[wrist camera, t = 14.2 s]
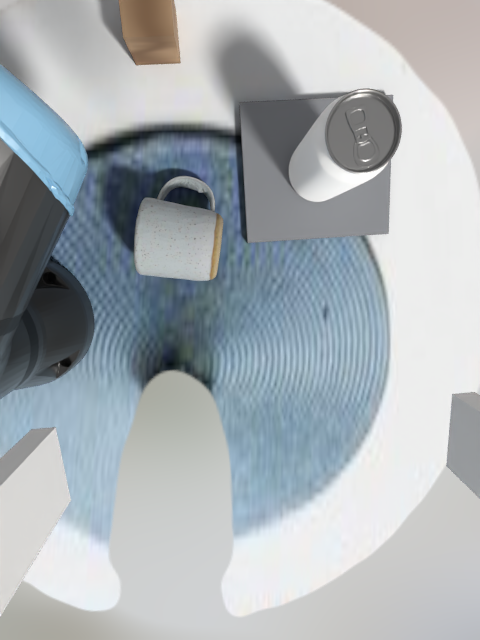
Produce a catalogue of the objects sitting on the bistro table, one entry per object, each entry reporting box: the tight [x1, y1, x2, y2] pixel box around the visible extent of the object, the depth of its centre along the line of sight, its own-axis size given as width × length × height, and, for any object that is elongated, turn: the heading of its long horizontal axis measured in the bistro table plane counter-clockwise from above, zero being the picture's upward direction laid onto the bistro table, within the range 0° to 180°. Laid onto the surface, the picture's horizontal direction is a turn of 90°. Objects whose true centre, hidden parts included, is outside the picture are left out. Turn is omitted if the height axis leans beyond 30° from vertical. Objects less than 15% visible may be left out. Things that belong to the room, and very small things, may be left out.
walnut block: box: [119, 0, 180, 65], centre depth 31 cm, size 4×4×4 cm
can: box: [289, 89, 402, 202], centre depth 29 cm, size 6×6×12 cm
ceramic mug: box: [134, 176, 223, 281], centre depth 33 cm, size 11×8×8 cm
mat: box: [239, 95, 393, 243], centre depth 36 cm, size 16×14×1 cm
